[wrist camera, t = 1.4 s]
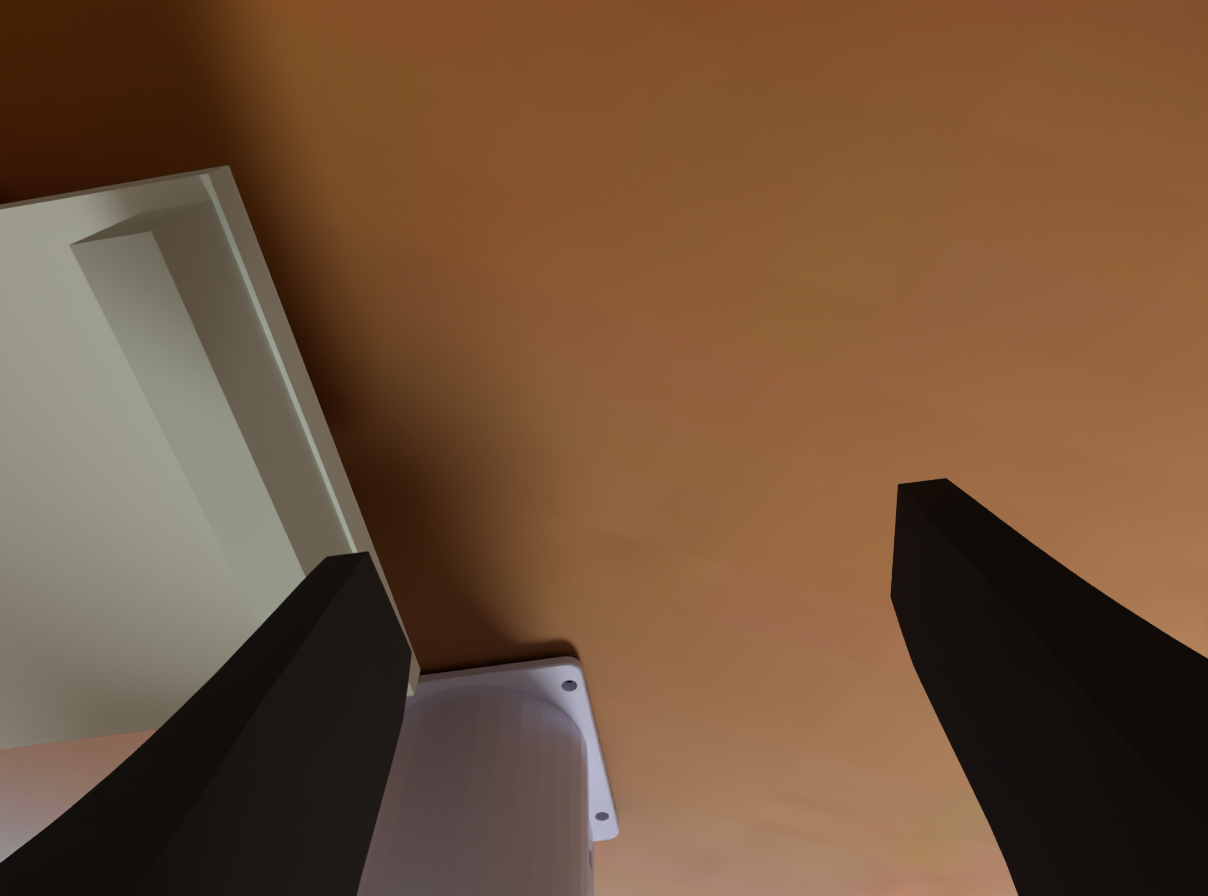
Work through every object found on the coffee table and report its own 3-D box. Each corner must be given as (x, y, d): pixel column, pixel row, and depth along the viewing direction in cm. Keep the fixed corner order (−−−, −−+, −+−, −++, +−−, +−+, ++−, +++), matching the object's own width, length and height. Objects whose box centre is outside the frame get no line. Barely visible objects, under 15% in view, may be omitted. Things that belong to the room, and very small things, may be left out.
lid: (420, 669, 19) (395, 768, 16) (-74, 735, 19) (-170, 839, 17) (228, 165, 13) (145, 200, 10) (-467, 285, 14) (-697, 345, 11)
